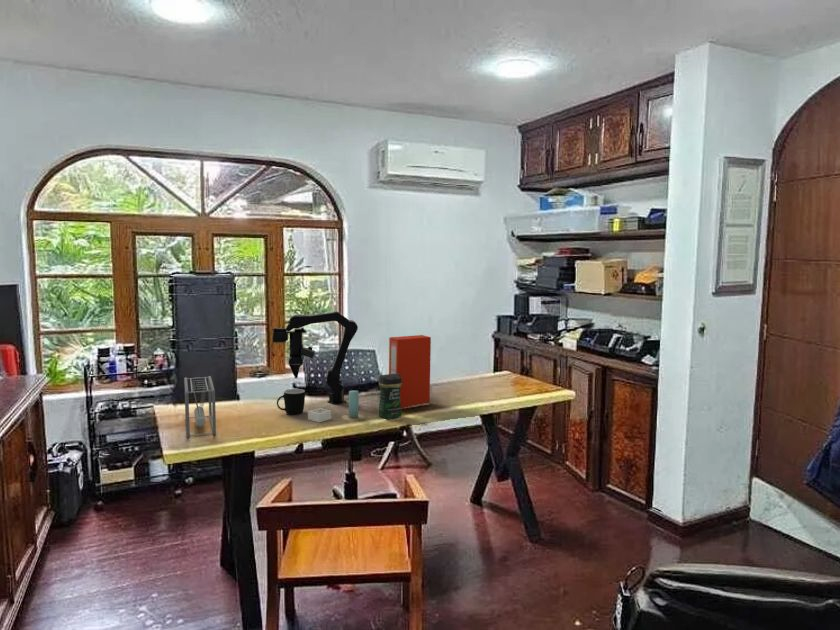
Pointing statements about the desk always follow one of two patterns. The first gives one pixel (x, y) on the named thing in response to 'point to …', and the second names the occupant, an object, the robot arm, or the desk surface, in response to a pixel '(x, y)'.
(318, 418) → the white square tray
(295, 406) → the mug
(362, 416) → the coaster
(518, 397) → the desk surface
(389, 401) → the coffee jar
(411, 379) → the file binder
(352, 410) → the dowel
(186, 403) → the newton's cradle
